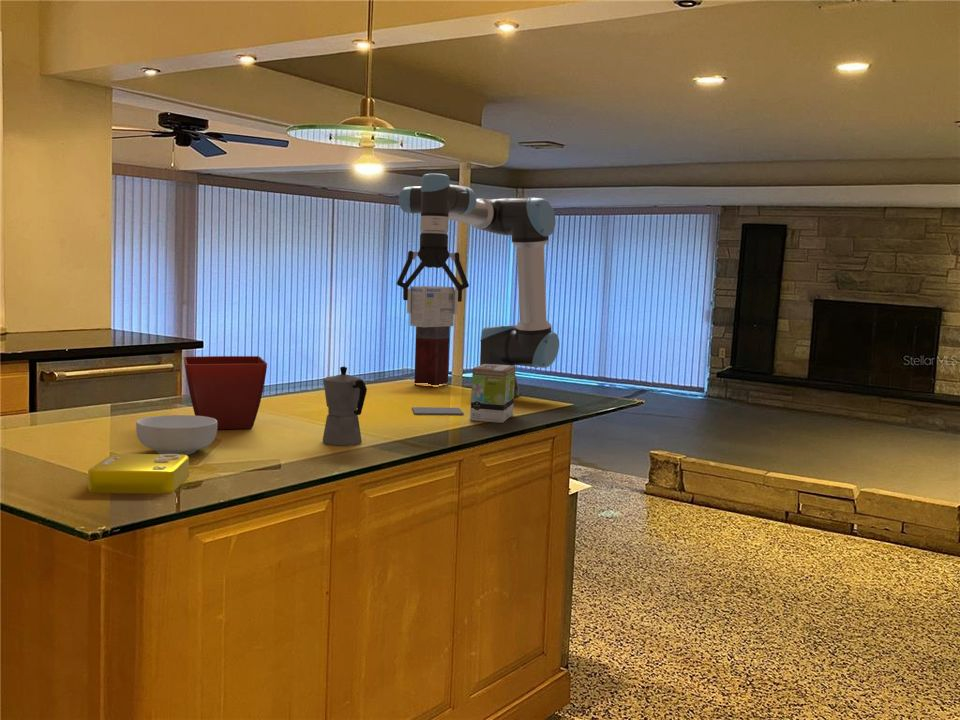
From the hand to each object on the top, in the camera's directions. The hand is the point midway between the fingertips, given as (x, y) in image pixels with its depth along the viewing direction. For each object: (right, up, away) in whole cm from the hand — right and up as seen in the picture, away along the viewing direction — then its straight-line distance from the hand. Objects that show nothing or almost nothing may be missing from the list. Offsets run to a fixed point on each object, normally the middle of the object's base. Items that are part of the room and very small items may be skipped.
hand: (432, 313), depth 238 cm
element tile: (-50, -36, -74) cm, 96 cm away
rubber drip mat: (+1, -28, +17) cm, 33 cm away
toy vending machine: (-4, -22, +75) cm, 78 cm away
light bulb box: (0, -4, 0) cm, 4 cm away
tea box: (+16, -29, +11) cm, 35 cm away
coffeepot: (-19, -32, -31) cm, 49 cm away
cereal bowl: (-53, -33, -47) cm, 78 cm away
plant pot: (-52, -29, -14) cm, 61 cm away
